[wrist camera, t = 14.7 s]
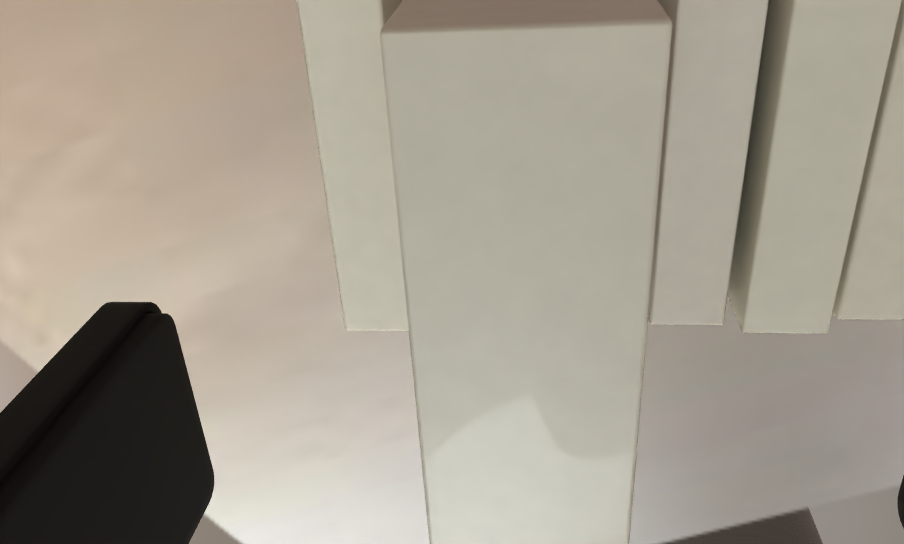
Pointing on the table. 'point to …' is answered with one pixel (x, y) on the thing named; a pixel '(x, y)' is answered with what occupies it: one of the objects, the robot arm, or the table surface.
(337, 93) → the cubes on dark base
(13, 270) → the table surface
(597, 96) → the white book
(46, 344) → the table surface
